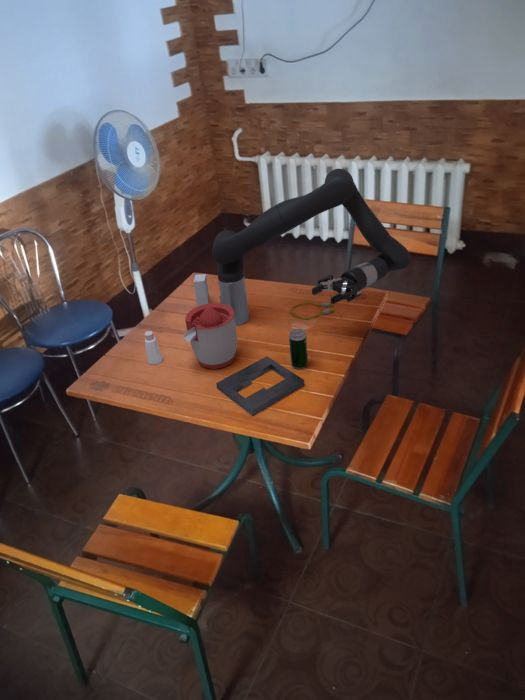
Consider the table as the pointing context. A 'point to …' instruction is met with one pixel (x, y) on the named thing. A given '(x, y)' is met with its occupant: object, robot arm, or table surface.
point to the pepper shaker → (152, 349)
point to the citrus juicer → (212, 334)
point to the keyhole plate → (262, 396)
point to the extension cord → (318, 306)
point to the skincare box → (201, 289)
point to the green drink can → (298, 348)
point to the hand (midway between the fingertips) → (321, 296)
